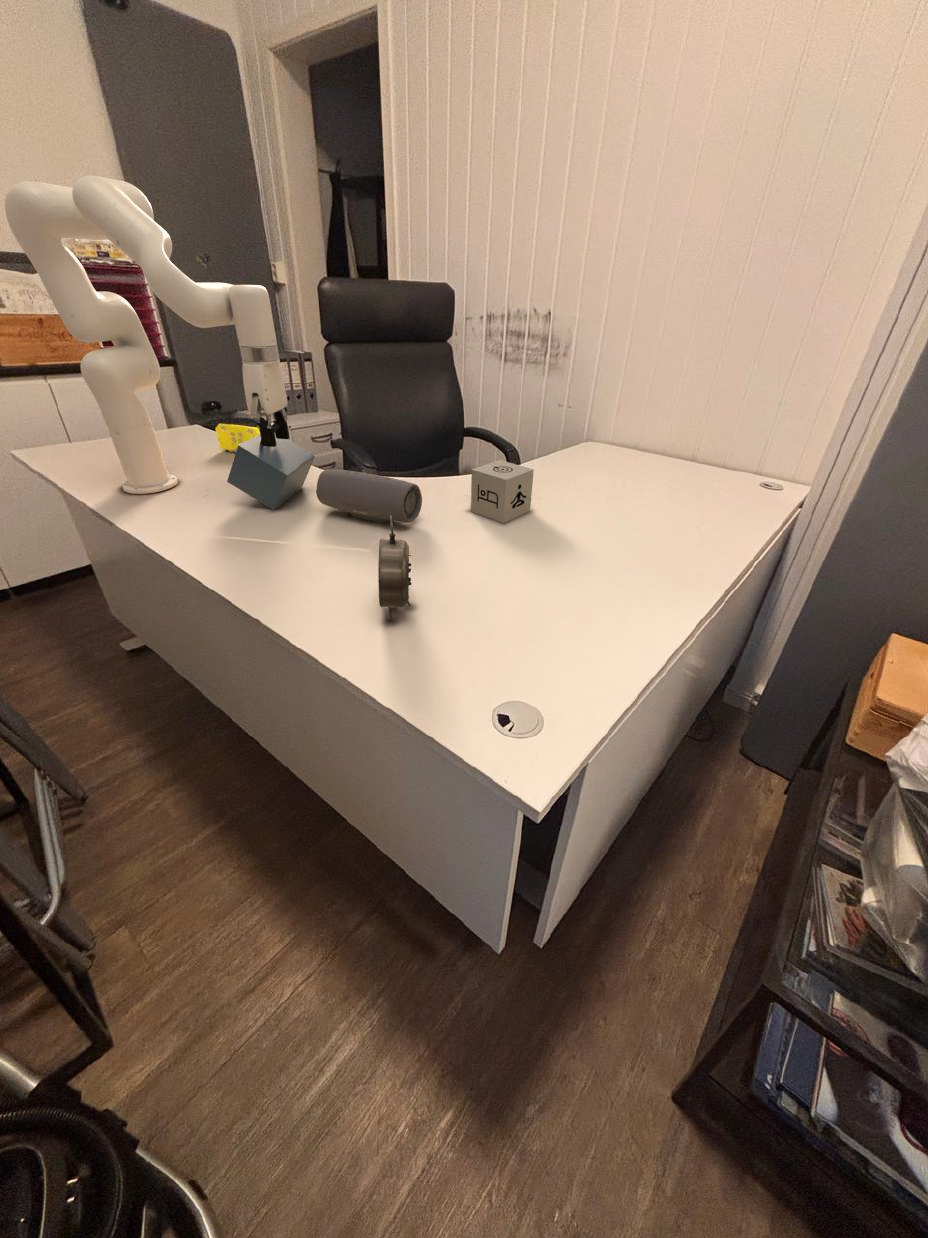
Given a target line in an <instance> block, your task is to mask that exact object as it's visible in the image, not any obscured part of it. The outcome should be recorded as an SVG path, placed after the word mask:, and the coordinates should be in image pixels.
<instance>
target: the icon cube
mask: <svg viewBox="0 0 928 1238" xmlns="http://www.w3.org/2000/svg"><path fill="white" fill-rule="evenodd" d="M534 472H535V469H534V468H531V467H527V466H524V465H519V464H516V463H512V462H509V461H506V460H502V459H498V460H496V461H492V462H490V463H487V464H483V465H481V466H480V465H479V466H478V467H477V466H476V467H475V468H472V469H471V484H470V512H472V513H474V514H478V515H480V516H483V517H486V518H488V519H491V520H493V521H496V522H498V523H502V524H505V523H507V522H509V521H513V520H514V519H516V518H518V517H520V516H522V515H525V514H527V513H529V512H530V511H531V505H532V494H533V483H534V474H535V473H534Z"/></svg>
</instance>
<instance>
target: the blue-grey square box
mask: <svg viewBox="0 0 928 1238" xmlns="http://www.w3.org/2000/svg"><path fill="white" fill-rule="evenodd" d="M271 428H274V434H275V432H276V431H278V430H279V424H278V423H276V422H273V421H272V422H271ZM275 439H276V444H277V445H276V446H275V447H270V446H263V445H262V440H261V435H260V434H259V435H257V436H255V437H253V438H251V439H249V440H247V441H245V442H243V443H242V444H240V445H238V448H237V451H236V452H235V455H234V458H233V461H232V464H231V467H230V471H229V473H228V477H227V481H226V483H227V484H230V485H232V486H233V487H235V488H236V489H238V490H240V491H241V492H243V493H245V494H247V495H248V496H249V497H251V498H253V499H254V500H257V501H258V502H259V503H261V504H263V505H265V506H266V507H267V508H270V509H271V510H273V511H275V510H276V509H278V508H279V507H280V506H281V505H283V504H284V503H285V502H286V501H288V500H289V499H290V498H291V497H292V496H294V495H295V494H296V493H298V492H299V491H300V490H301V489H302V488H303V487H304V485H305V484H304V483H305V482H306V479H307V477H308V474H309V472H310V469H311V467H312V465H313V461H314V460H315V457H316V456H315V455H314V454H312V453H311V452H309V451H308V450H306V449H305V448H304V447H302V446H300V445H298V444H297V443H296V442H294V441H292V440H290V438H289V439H277V438H276V435H275Z"/></svg>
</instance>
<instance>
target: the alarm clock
mask: <svg viewBox="0 0 928 1238" xmlns="http://www.w3.org/2000/svg"><path fill="white" fill-rule="evenodd" d="M393 523H394V521H392V516H390V522H389V524H390V533H389V534H388V535H389V536H388V537H389V538H385V539H384V538H380V540H379V544H378V564H377V565H378V566H377V567H378V571H377V573H378V577H377V578H378V581H377V582H378V603H379V607H380V608H387V609H388V622H390V623H391V622H393V613H394V608H404V607H405V606H407V605H408V606H409V607H410V608H411V607H412V604H411V603H410V601H409V599H410V595H409V593H410V592H409V591H410V590H409V588H410V587H409V586H412V582H411V581H412V577H410V573H411V571H412V568H410V567H412V563H411V562H410V557H412V554H410V546H409V544H408V542H407V541H406V540H404V539H398V538H397V539H396V533H395V532H394V524H393Z"/></svg>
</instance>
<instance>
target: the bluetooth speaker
mask: <svg viewBox="0 0 928 1238" xmlns="http://www.w3.org/2000/svg"><path fill="white" fill-rule="evenodd" d="M315 493H316V497H317V499H318V501H319V502H320V503H321V504H322V505H325V506H327V507H329V508H333V509H337V510H340V511H343V512H347V513H349V515H350V516H352V517H355V518H359V519H362V520H367V521H372V522H378V523H390V516H392V522H400V523H412V522H414V521H415V520H416V519H417V518H418V517H419V515H420V513H421V509H422V505H423V496H422V492H421V489H420V487H419V485H418V484H416V483H413V482H409V481H406V480H402V479H397V478H393V477H389V476H388V477H387V476H383V475H379V474H374V473H369V472H368V473H367V472H361V471H353V470H347V469H346V470H345V469H337V468H326V469H324V470H323V471H321V472H320V474H319V475H318V477H317V482H316V491H315Z"/></svg>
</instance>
